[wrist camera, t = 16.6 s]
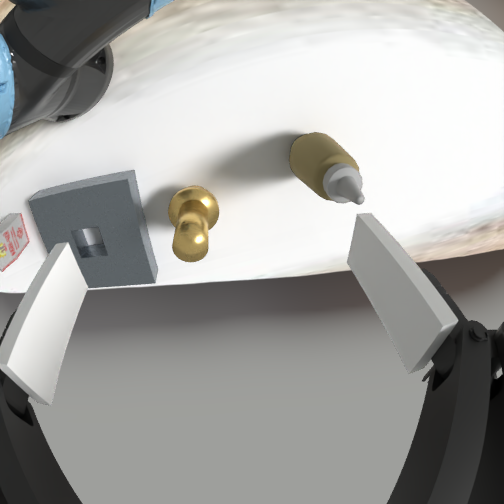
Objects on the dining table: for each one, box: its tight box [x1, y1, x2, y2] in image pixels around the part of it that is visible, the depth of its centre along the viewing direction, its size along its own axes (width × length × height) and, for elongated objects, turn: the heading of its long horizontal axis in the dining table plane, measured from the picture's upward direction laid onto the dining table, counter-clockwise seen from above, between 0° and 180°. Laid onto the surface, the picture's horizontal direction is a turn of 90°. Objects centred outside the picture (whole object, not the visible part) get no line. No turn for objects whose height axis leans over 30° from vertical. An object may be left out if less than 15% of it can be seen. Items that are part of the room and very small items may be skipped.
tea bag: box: [0, 213, 29, 272], centre depth 36 cm, size 4×7×10 cm, turn 173°
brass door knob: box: [168, 186, 219, 262], centre depth 38 cm, size 8×8×14 cm
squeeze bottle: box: [289, 132, 365, 205], centre depth 34 cm, size 8×8×18 cm
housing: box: [28, 170, 158, 288], centre depth 43 cm, size 20×20×4 cm
